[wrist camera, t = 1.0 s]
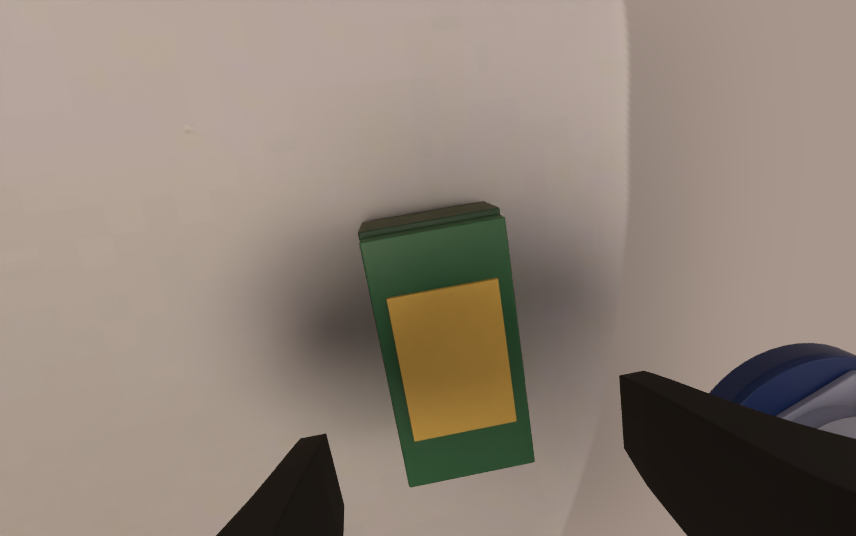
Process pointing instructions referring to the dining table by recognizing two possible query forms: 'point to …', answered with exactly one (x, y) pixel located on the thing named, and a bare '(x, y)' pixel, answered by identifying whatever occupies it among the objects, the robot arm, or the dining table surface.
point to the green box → (449, 340)
